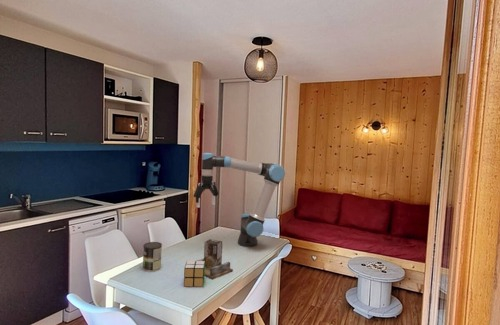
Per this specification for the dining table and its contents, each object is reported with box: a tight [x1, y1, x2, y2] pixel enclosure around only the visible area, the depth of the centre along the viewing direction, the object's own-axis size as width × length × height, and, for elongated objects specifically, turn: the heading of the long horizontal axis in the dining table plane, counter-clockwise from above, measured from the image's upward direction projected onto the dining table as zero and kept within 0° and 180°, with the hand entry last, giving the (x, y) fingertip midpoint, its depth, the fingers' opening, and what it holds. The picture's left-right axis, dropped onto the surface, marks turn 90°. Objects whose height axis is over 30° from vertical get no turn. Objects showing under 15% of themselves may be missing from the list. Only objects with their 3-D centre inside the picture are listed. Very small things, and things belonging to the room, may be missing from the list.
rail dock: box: [196, 257, 234, 281], centre depth 172 cm, size 16×18×5 cm
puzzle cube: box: [183, 260, 206, 288], centre depth 156 cm, size 10×10×10 cm
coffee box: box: [203, 238, 223, 270], centre depth 172 cm, size 9×6×16 cm
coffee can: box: [142, 241, 163, 273], centre depth 171 cm, size 10×10×14 cm
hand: (205, 206), depth 201 cm, fingers open, 13 cm apart
